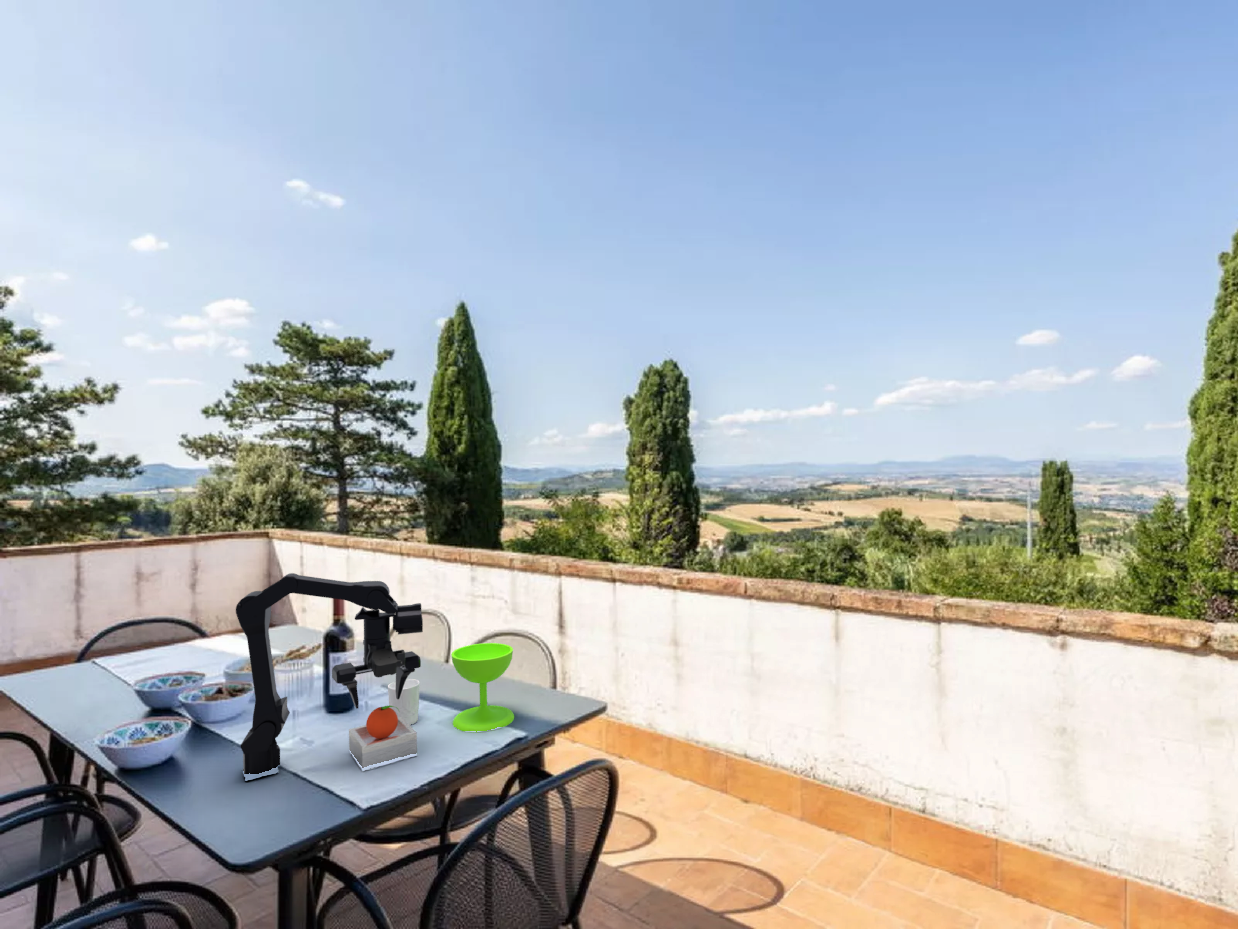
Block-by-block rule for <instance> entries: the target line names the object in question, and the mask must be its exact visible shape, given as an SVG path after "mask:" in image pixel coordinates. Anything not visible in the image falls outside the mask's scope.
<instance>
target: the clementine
mask: <svg viewBox="0 0 1238 929" xmlns="http://www.w3.org/2000/svg"><path fill="white" fill-rule="evenodd" d="M389 707H394V706H389V705H384V706H380V707H379V706H378V707H376V708H375V709H374V710H372V711H371V712H370V714H369V715H368V717H367V719H366V722H365V723H366V724H365V725H366V727H367V731H368V733H369V734H370V735H371V736H372V737H374V738H377V739H382V738H386V737H388V736H390V735H391V734H392V733H393V732H394V731H395V729H396V727H397V724H398V717H397V714H396V712H395V711H394V710H393V709H391V708H389ZM396 708H397V707H396ZM397 709H398V708H397ZM398 710H399V709H398Z"/></svg>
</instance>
